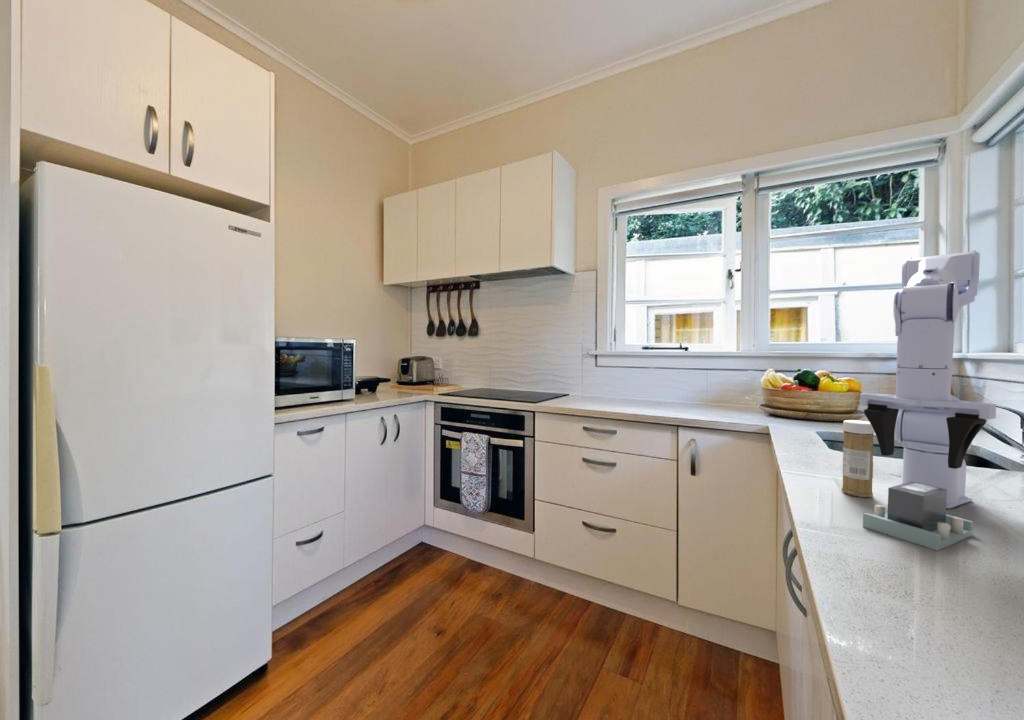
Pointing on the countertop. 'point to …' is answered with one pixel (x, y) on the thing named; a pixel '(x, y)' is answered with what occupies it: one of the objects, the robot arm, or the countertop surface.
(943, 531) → the tray
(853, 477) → the sprinkles bottle
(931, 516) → the dark grey block
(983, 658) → the countertop surface
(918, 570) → the countertop surface
